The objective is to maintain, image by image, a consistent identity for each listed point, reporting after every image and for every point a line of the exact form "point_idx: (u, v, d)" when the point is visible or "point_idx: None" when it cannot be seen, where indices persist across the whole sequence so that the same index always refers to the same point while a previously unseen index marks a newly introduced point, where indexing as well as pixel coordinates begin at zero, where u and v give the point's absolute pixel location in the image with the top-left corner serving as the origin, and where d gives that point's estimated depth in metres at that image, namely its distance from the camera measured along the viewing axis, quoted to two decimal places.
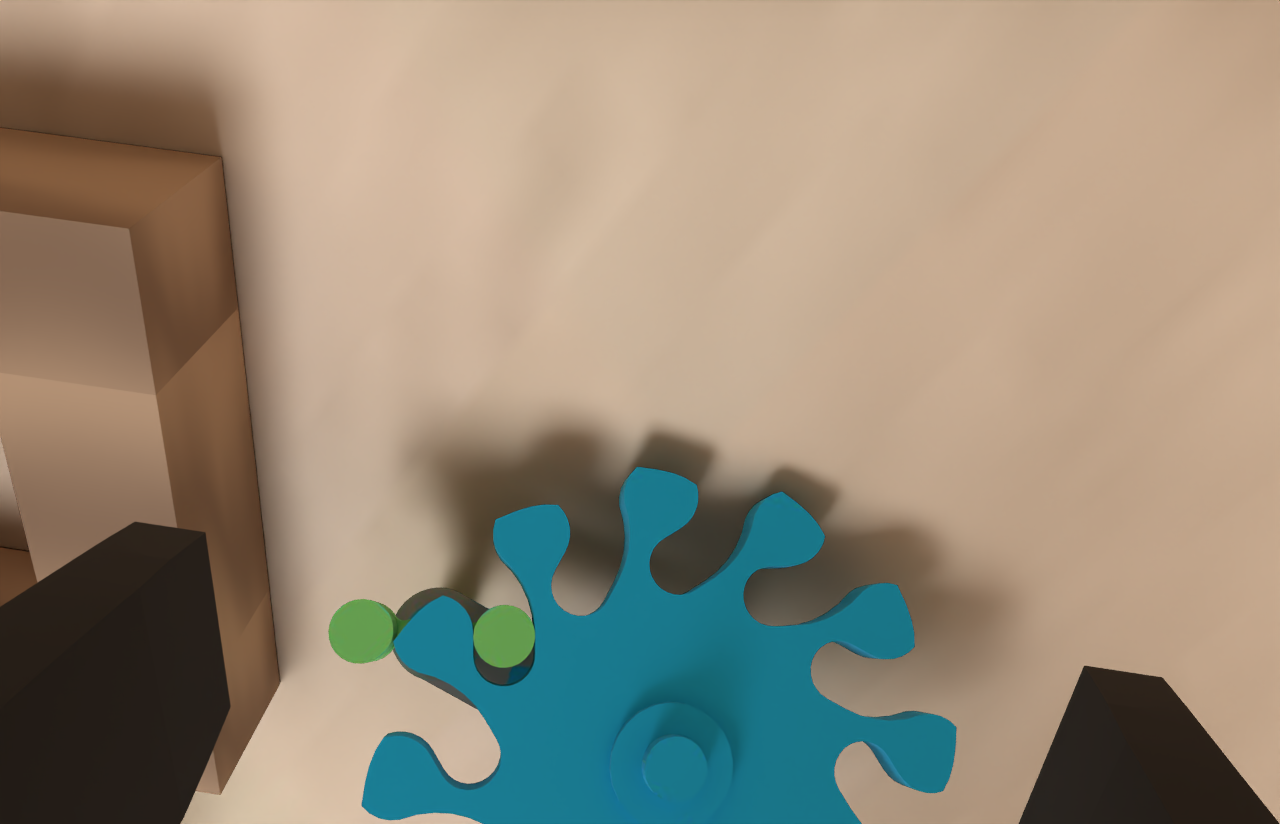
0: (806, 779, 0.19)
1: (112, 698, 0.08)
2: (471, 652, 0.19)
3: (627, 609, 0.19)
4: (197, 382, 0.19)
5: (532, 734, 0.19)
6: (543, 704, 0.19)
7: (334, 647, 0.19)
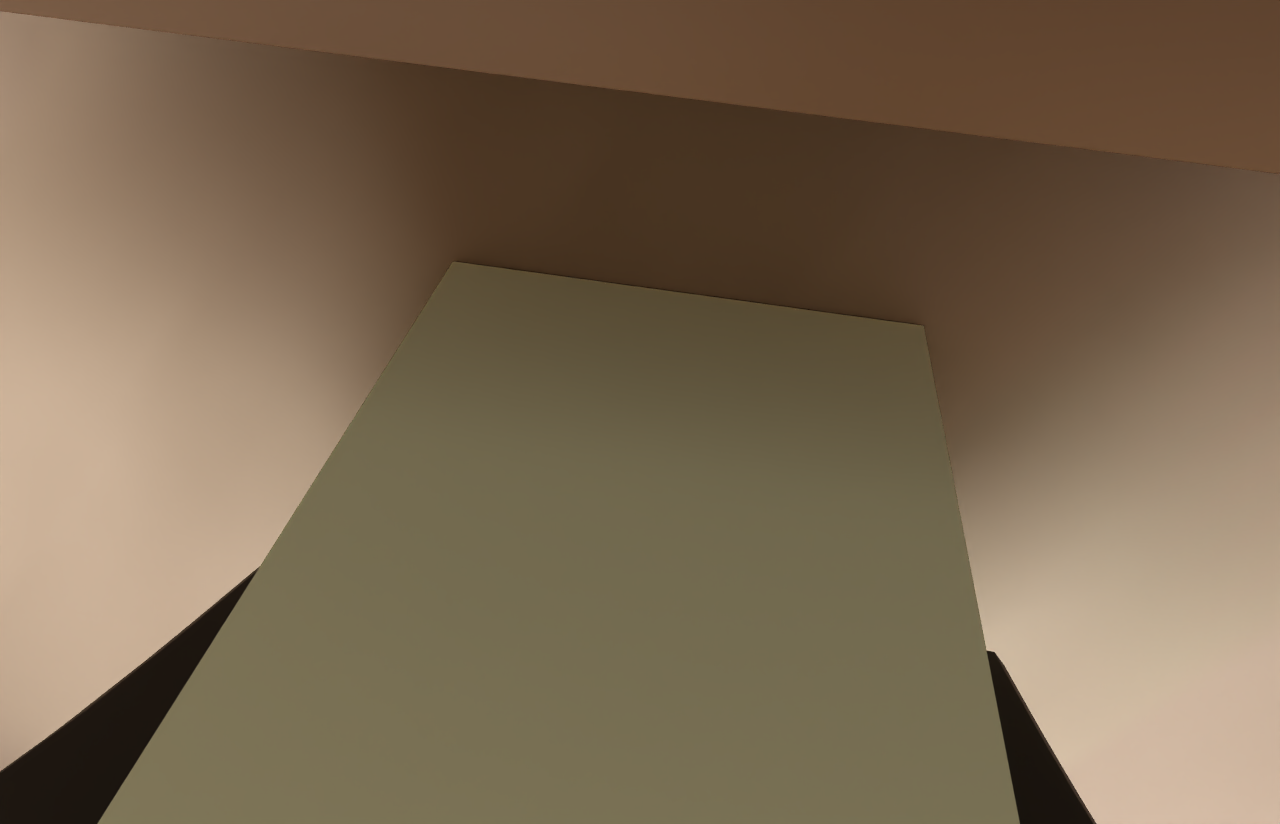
0: None
1: None
2: None
3: None
4: None
5: None
6: None
7: None
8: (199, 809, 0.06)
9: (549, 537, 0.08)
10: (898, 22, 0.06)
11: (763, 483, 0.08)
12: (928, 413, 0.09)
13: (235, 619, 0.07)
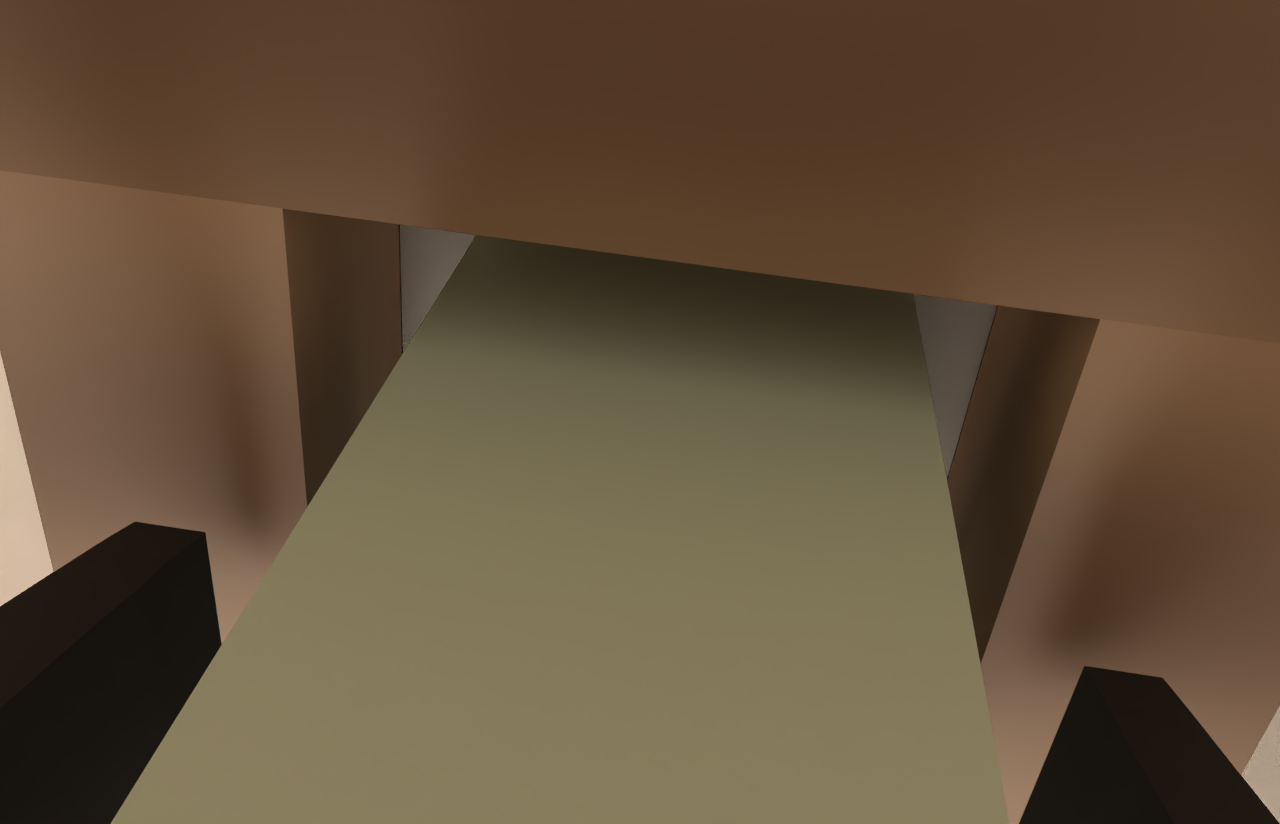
0: None
1: (112, 698, 0.08)
2: None
3: None
4: None
5: None
6: None
7: None
8: (311, 620, 0.07)
9: (584, 429, 0.09)
10: None
11: (766, 389, 0.10)
12: (910, 336, 0.11)
13: (324, 487, 0.08)
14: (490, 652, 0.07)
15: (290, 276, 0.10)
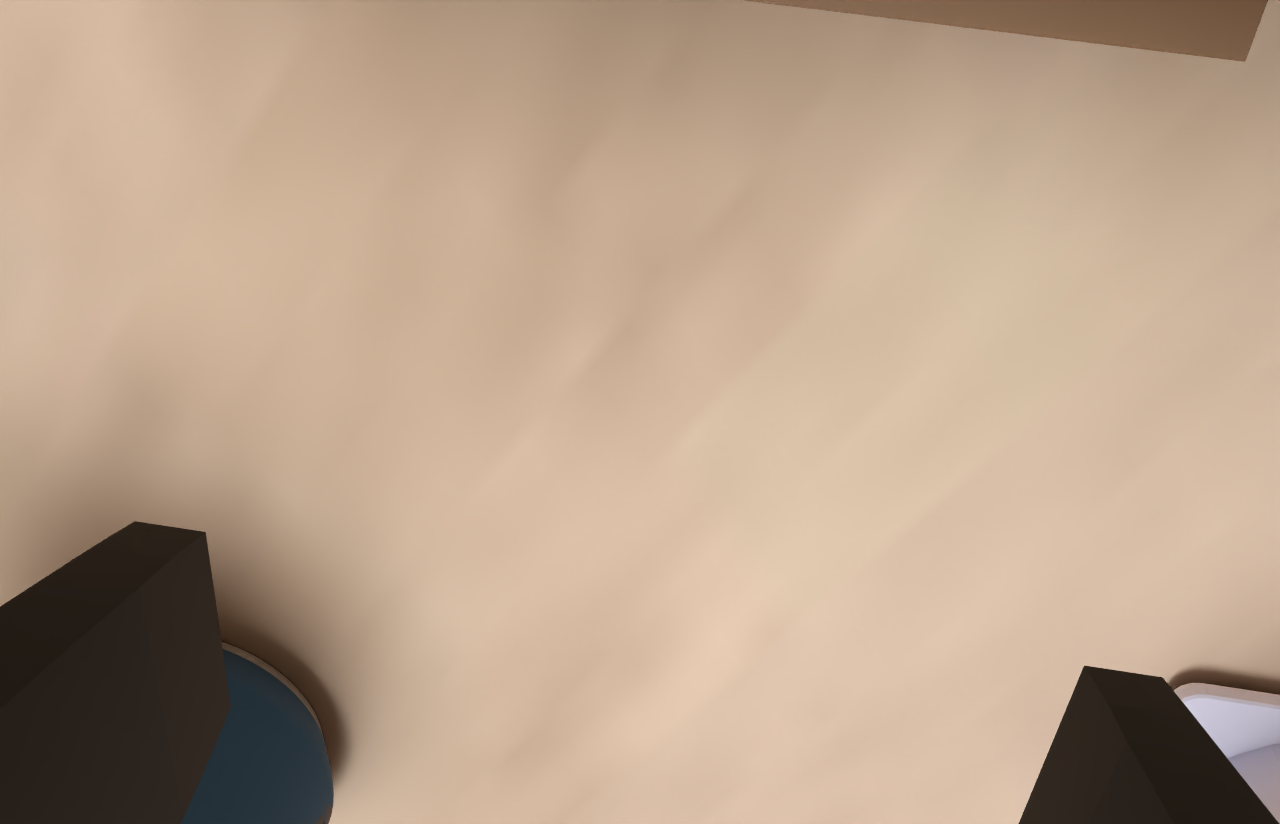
0: None
1: (112, 698, 0.08)
2: None
3: None
4: None
5: None
6: None
7: None
8: None
9: None
10: None
11: None
12: None
13: None
14: None
15: None
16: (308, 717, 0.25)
